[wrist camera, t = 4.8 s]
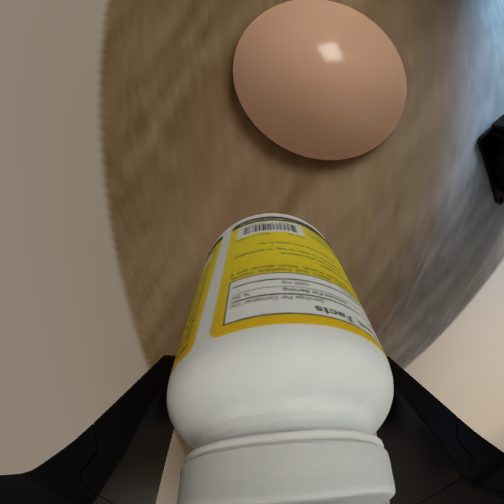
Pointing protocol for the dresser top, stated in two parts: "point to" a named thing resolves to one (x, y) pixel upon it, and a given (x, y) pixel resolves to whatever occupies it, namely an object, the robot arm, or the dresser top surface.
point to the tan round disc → (320, 79)
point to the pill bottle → (279, 376)
